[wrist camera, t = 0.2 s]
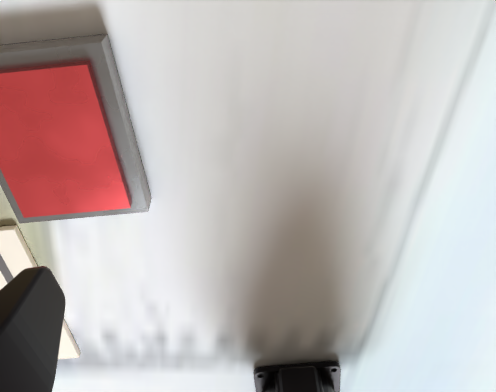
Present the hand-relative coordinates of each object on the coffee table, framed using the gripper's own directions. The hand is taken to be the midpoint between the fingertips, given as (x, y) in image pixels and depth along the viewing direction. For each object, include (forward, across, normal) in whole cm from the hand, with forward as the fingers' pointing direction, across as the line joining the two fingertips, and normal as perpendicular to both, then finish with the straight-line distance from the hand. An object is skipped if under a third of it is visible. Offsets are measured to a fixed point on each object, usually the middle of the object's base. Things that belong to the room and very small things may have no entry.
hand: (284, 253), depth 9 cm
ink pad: (+14, +10, +4) cm, 18 cm away
